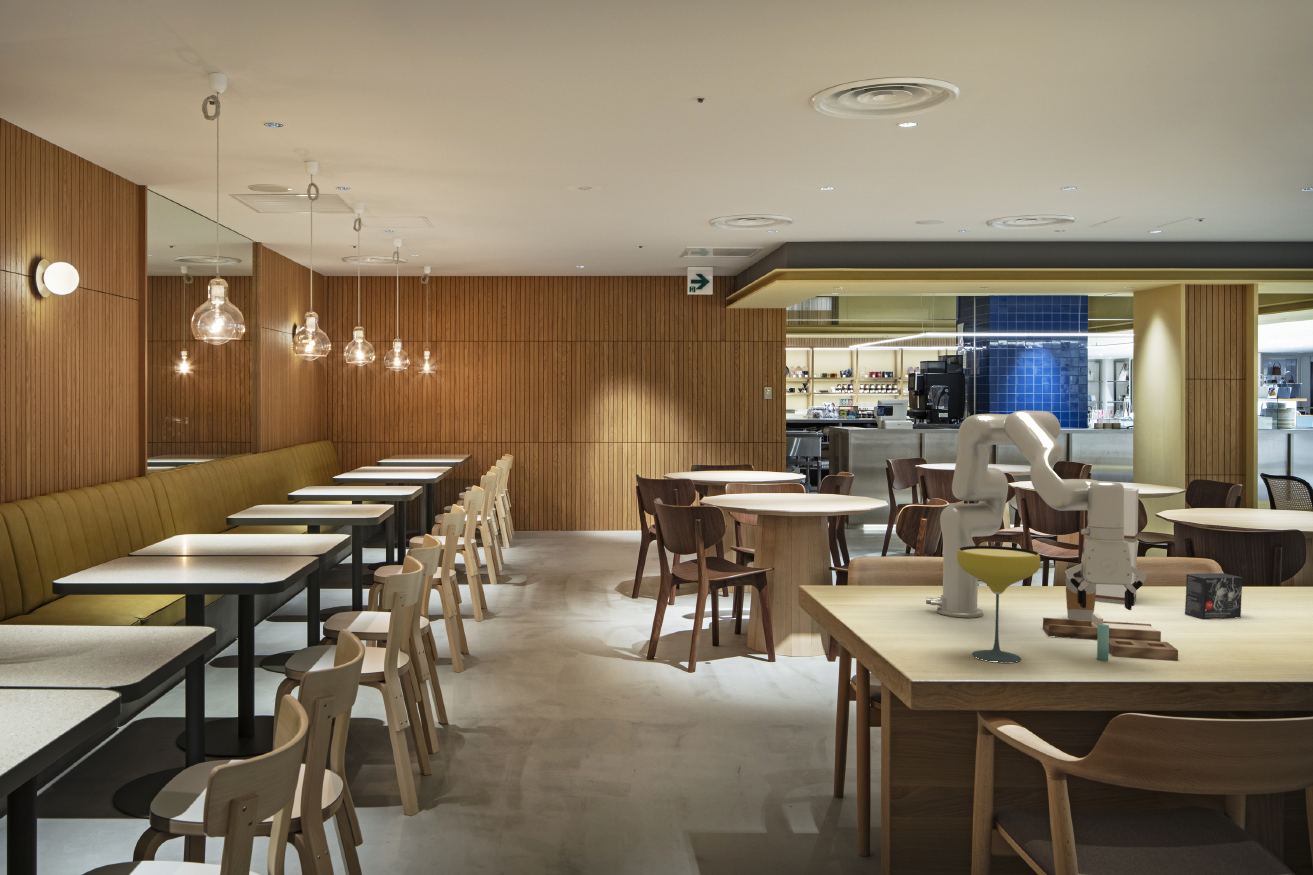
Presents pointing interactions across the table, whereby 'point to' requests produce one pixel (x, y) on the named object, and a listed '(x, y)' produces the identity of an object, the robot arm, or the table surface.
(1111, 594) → the mini fridge
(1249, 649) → the table surface
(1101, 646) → the pin
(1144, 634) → the board
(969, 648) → the table surface
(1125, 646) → the pin board
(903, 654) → the table surface
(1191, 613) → the small box
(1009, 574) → the cocktail glass
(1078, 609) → the coffee cup
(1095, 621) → the lid
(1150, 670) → the table surface
